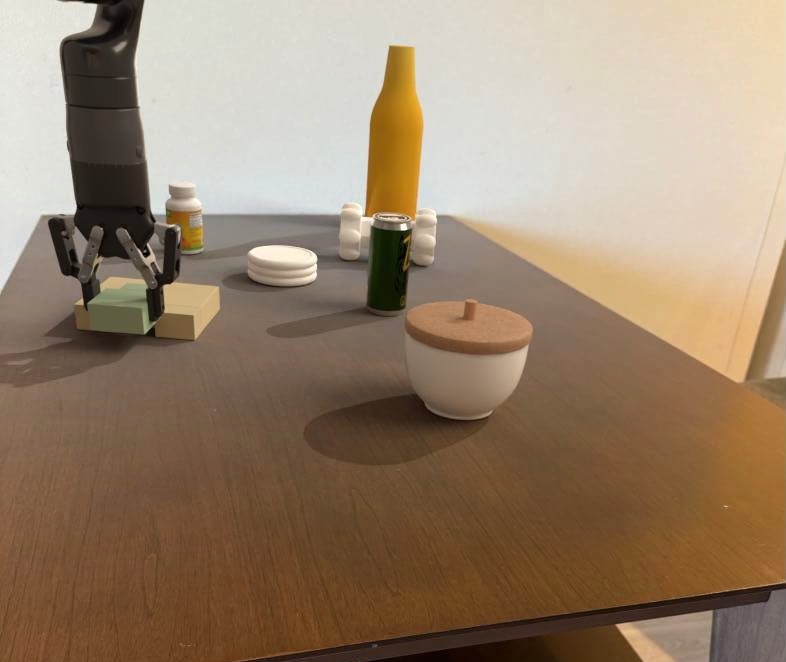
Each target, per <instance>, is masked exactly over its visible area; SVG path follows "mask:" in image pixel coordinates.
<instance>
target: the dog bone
mask: <svg viewBox="0 0 786 662" xmlns="http://www.w3.org/2000/svg"><path fill="white" fill-rule="evenodd" d="M363 212H364V210H363V207H362V206H361V204H358V203H357V202H346V203H344V204H343V205H342V206H341V211H340V214H339V217H340V228H339V230H340V231H339V234H338V239H339V249H338V255H339V257H340V258H341V259H343V260H346V261H355V260H358V258H360V257H361V249H369V242H370V224H371V222H372V220H373V218H369V217H365V216H363ZM411 224H412V227H413V228H412V240H411V252H410V253H411V254H412V261H413V262H414V264H416V265H417V266H421V267H423V266H424V267H426V266H429V265H431V264H432V263H434V260H435V257H434V255H435V254H434V252H435V247H436V244H437V241H436V236H437V235H436V233H437V232H436V231H437V224H438V219H437V213H436V211H435V210H434V209H431V208H428V207H422V208H420V209H418V210H416V214H415V221H411Z"/></svg>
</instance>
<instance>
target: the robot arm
mask: <svg viewBox="0 0 786 662" xmlns="http://www.w3.org/2000/svg"><path fill="white" fill-rule="evenodd" d="M56 1H58V2H61V3H68V4H87V5H96V9H95V13H94V17H93V20H92V23H91V26H90V27H89V28H88V29H85V30H82V31H79V32H75V33H72V34H69V35H67V36H64V37H63V39H61V41H60V44H59V51H58V53H59V64H60V71H61V79H62V87H63V95H64V102H65V131H66V139H67V140H66V148H67V152H68V157H69V164H70V169H71V170H70V171H71V179H72V187H73V195H74V196H73V197H74V201H75V205H76V209H75V213H74V214H73V215H66V214H64V213H59V214H57V215H54V216H53V217H52V218H50V219H48V221H47V227H48V230H49V233H50V237H51V241H52V243H53V244H52V245H53V248H54V251H55V255H56V259H57V263H58V266H59V269H60V273H61V274H62V275H63V276H65V277H73V278H74V279H77V281H79V283H80V286H81V293H82V294H81V295H82V298H83V303H84V307H85V309H86V311H88V307H87V303H88V302H89V301H91V300H92V299H93V298H95V297H96V296H97V295H98V294H100V293H101V289H100V284H101V282H100V279H99V278H97V274H98V271H99V269H100V266H101V264H102V262H103V260H104V258H105V259H110V258H119V259H122V260H126V261H127V260H129V261H131V262H132V264H133V266H134V268H135V270H137V271H138V272H139V273H140V275H141V277H142V280H144V281H145V282H146V284H147V286H148V288H146V298H147V304H148V315H149V321H151V322H156V321H157V320H158V319H159V318H160V316H161V315H162V314H163V313H164V311H165V302H164V290H163V286H164V285H166V284H168V285H169V284H172V283H173V282H175V281H176V280H177V279H178V278H179V277H180V275H181V261H182V260H181V259H182V254H181V248H182V234H183V228H182V226H181V225H180V224H178V223H174V224H173V225H168V224H166V223H163V222H159V221H157V220H156V217H155V216H154V214H153V212H152V207H151V206H152V204H151V192H150V190H151V189H150V179H149V178H150V177H149V168H148V167H149V166H148V155H147V153H148V152H147V143H146V142H147V141H146V132H145V126H144V122H143V117H142V110H141V102H140V101H141V100H140V90H139V78H138V69H137V57H138V50H139V43H140V37H141V31H142V24H143V23H142V22H143V16H144V9H145V4H146V0H56ZM76 229H77V230H78V232H79V233H80V234H81V235H82V237H83V238H84V239H85V241H86V242H87V245H86V247H85V249H84V253H83V255H82V257H81V258H82V259H81V260H82V262H80V261H79V255H78V252H77V248H76V244H75V241H74V235H75V233H76ZM154 234H155V235H156V236H157V237H158V241H159V244H160V245H161V246H163V258H162V259H163V260H162V270H161V268H160V267H159V265H158V262H157V260H156V255H155V254H154V252H153V249H152V248H151V246H150V244H149V242H150V240H151V239H152V238H153V236H154Z"/></svg>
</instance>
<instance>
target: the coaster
mask: <svg viewBox="0 0 786 662" xmlns="http://www.w3.org/2000/svg"><path fill="white" fill-rule="evenodd" d="M246 257H247V263H246V264H247V268H248V269H247V276H248V277H249V278H250V279H251V280H252V281H254V282H256V283H259V284H263V285H266V286H274V287H298V286H306V285H309V284H312V283H313V282H314V281H315V280H316V279H317V277H318V273H317V270H318V265H317V262H318V257H317V255H316V253H315V252H313V251H311V250H310V249H307V248H304V247H298V246H292V245H282V244H281V245H280V244H277V245H275V244H274V245H263V246H257V247H254V248H252V249H251V250H249V251H248V252H247V255H246Z"/></svg>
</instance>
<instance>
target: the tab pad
mask: <svg viewBox="0 0 786 662" xmlns="http://www.w3.org/2000/svg"><path fill="white" fill-rule="evenodd" d="M146 288H148V286H147V285H146V284H134V283H126V284H125V285H124V286H123V287H121V288H120V289H114V288H106V289H104V290H103V291H102V292H101V293H100V294H98V295H97V296H96V297H95V298H93V299H92V300H91V301H89V302H88V303H87V307H88V314H89V322H90V330H89V331H91V330H94V331H93V332H101V331H106V332H105V333H112V332H117V333H118V334H119V333H120V334H129V335H130V334H131V335H146V334H147V333H148V332H149V330H151V329H152V328H153V327H152V326H153V325H154V324H155V323H156V322H157V321H158V320H159V319H160V318H161V317H160V318H159V319H158V320H157V321H156V322H151V321H149V315H148V304H147V298H146Z"/></svg>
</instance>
